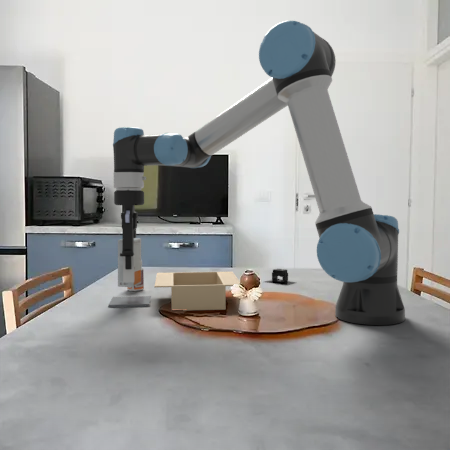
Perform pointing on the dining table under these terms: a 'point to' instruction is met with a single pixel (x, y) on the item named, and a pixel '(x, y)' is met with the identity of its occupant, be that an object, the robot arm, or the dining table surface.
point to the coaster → (130, 301)
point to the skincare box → (136, 264)
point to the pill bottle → (139, 286)
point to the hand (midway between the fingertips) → (130, 279)
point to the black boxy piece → (282, 274)
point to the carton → (197, 289)
